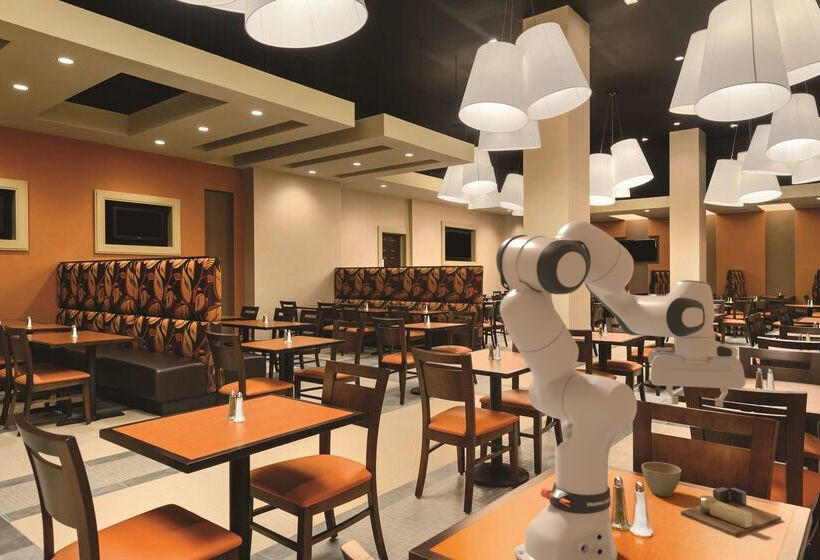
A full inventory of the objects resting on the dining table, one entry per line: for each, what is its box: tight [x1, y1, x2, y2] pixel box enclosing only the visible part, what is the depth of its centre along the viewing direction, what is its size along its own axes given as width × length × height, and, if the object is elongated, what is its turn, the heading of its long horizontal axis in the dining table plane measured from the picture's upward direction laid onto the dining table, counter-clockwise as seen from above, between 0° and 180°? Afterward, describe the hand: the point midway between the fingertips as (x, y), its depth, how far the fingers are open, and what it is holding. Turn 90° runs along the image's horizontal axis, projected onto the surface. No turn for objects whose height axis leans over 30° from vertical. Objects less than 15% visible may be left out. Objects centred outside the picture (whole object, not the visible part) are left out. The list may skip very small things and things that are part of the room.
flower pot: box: [641, 461, 682, 497], centre depth 153 cm, size 10×10×7 cm
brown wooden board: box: [680, 502, 782, 537], centre depth 136 cm, size 18×14×1 cm
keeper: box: [712, 486, 747, 506], centre depth 143 cm, size 6×5×3 cm
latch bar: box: [699, 495, 752, 528], centre depth 134 cm, size 12×4×3 cm, turn 27°
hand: (696, 405), depth 132 cm, fingers open, 8 cm apart
